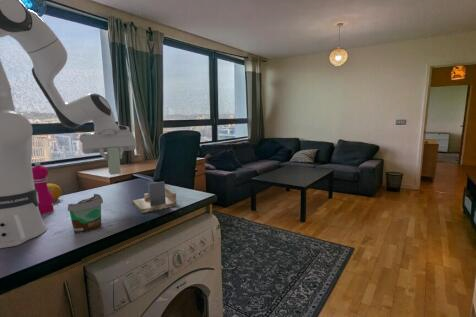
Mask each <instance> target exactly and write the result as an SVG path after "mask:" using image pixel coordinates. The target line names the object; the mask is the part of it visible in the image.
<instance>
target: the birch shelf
mask: <svg viewBox="0 0 476 317" xmlns="http://www.w3.org/2000/svg"><path fill="white" fill-rule="evenodd" d="M165 199H166V204H161V205H156V206H150V197H149V192H148V193H147V192H146V193H144V194H143V198H138V199H133V200H132V205H133V206H134V207H135V208H136V209H137V210H138V211H139V212H140V213H141V214H145V213H149V211H150V212H155V211H159V210H163V208H164V209H167V208H168V207H169V208H172V207H173V206H174V207H177V193H176V192H175V191H173V190H172V189H170V188H169V187H167V186H165ZM158 209H159V210H158ZM154 210H155V211H154Z"/></svg>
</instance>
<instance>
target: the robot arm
mask: <svg viewBox="0 0 476 317" xmlns="http://www.w3.org/2000/svg"><path fill="white" fill-rule="evenodd" d="M7 36H9V37H11V38H13V39H14V40H15V41H16V42H18V43H19V45H20V46H21V47H22V49H23V50H24V52H26V54H27V55H28V56H29V58H30V60H31V62H32V68H31V74H32V76H33V78H34V81H35V82H36V83H37V86H38V87H39V89H40V90H41V92H42V93H43V95H44V96H45V98H46V100H47V101H48V103H49V105H50V106H51V107H52V109H53V111H54V113H55V115H56V117H57V119H58V121H59V122H60V123H61V125H62V126H63V127H65V128H68V129H72V130H75V129H77V128H79V127H82V126H83V125H84V124H87V123H90V122H92V123H93V130H94V132H93V133H92V132H91V133H82V134H81V135H80V136H79V137H78V138H79V141H80V143H81V144H82V145H81V150H82V153H83V154H85V155H89V154H99V155H100V156H101V157H103V159H104V161H108V159H109V157H108V154H107V148H119V158H120V160H122V159H123V153H124V152H125V151H126V152H127V151H128V152H129V151H135V150H136V149H137V141H136V138H135V135H134V134H133V133H132V132H131V129H130V127H129V126H125V125H120V124H117V122H116V118H115V115H114V111H113V110H112V108H111V105H110V104H109V102H108V101H107V99H106V98H105V97H103V96H102V95H100V94H99V93H96V92H91V93H87V94H85V95H83V96H80V97H78V98H77V99H73V100H72V101H68V102H66V101H65V100H64V98H63V97H62V96H61V94H60V92H59V91H58V88H57V87H56V85H55V83H54V79H55V78H56V76H58V74H59V73H60V72H61V71H62V70H63V69H64V67H65V66H66V63H67V60H68V52H67V49H66V48H65V45H64V44H63V43H62V42H61V40H60V39H59V37H58V36H57V35H56V33H55V31H53V30H52V29H51V27H50V26H49V25H48V24H47V23H46V22H45V20H43V18H41V16H39V15H38V14H37V13H36V12H35V11H33V10H31V9H28V8H27V7H26V5H25V4H24V3H23V2H22V0H0V38H3V37H7ZM7 76H8V75H7V74H6V71H5V69H4V65H3V64H2V60H1V59H0V249H4V248H5V249H6V248H11V247H15V246H19V245H21V244H23V243H26V242H27V241H29V240H30V239H33V238H36V237H38V236H40V235H42V234H43V233H45V231H47V228H48V227H47V226H46V224H45V222H44V220H43V218H42V214H40V211H39V207H38V205H39V199H38V192H37V189H36V188H35V187H34V179H33V172H32V167H33V165H32V161H33V159H32V156H33V131H34V130H33V126H32V123H31V122H30V121H29V119H28V118H27V117H25V116H24V114H22V113H20V112H17V111H16V108H15V104H14V100H13V95H12V88H11V84H10V80H9V79H8V77H7Z"/></svg>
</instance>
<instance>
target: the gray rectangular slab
mask: <svg viewBox="0 0 476 317" xmlns="http://www.w3.org/2000/svg"><path fill="white" fill-rule="evenodd" d="M165 187H166V186H165V181H158V182H153V183H152V182H150V183H148V193H149V197H150V206H156V205H161V204H166V199H165Z"/></svg>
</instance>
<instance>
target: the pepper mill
mask: <svg viewBox="0 0 476 317" xmlns="http://www.w3.org/2000/svg"><path fill="white" fill-rule="evenodd" d="M32 172H33V179H34V187H35V188H36V189H37V192H38V199H39V205H38V207H39V211H40V214H41V215H44V213H45V214H48V212H49V213H51V212H53V211H54V209H55V208H54V205H53V204H54V202H55V201H54V198H53V196H52V194H51V193H50V191H49V190H48V187H47V184H48V181H49V180H48V175H49V169H48V168H47V167H45V166H43V165H41V162H40V161H36V162H35V163H34V166H32Z"/></svg>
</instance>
